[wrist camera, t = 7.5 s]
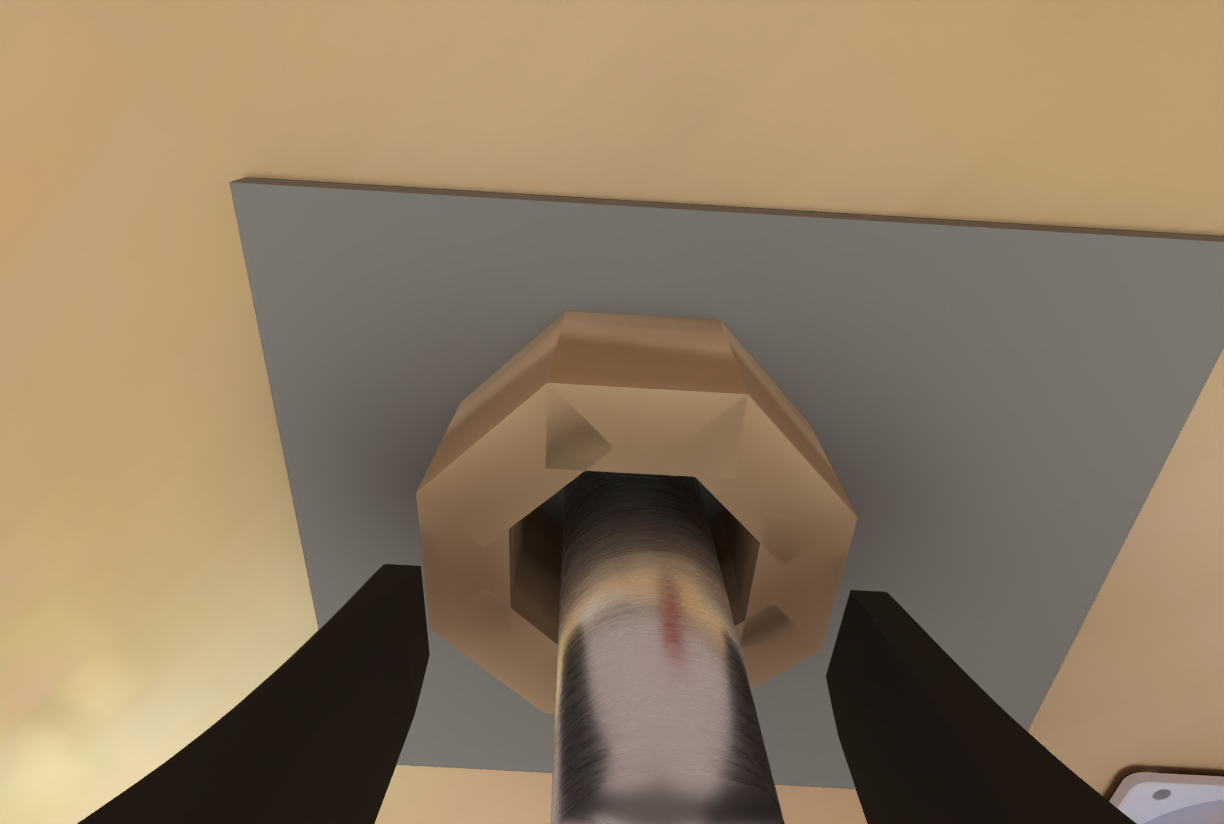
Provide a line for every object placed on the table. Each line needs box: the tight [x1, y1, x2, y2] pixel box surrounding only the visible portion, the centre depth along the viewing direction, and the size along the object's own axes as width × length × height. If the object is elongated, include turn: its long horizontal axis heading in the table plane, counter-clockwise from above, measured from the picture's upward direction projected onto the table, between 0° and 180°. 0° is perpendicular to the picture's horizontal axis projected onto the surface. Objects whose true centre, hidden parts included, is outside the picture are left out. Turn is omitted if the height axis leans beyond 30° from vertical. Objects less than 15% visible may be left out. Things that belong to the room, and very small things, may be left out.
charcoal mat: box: [229, 178, 1224, 789], centre depth 17 cm, size 20×17×1 cm
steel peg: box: [551, 471, 784, 824], centre depth 12 cm, size 3×3×8 cm
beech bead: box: [416, 311, 858, 714], centre depth 14 cm, size 8×8×4 cm
